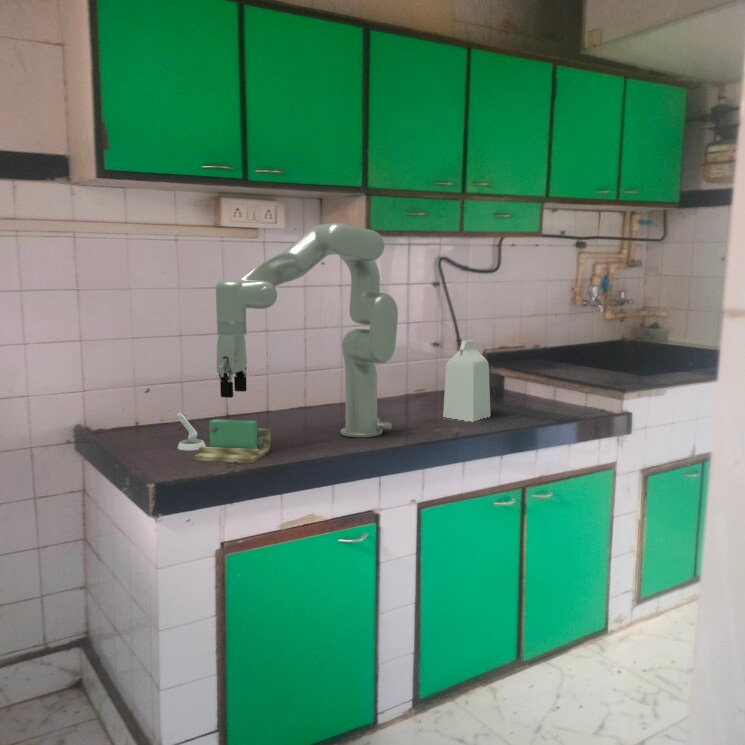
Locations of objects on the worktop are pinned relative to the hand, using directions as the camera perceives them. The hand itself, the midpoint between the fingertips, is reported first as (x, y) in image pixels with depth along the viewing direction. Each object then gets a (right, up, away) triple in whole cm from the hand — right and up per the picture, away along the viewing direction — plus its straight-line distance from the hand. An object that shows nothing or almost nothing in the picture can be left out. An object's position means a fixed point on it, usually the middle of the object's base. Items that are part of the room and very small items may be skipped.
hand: (234, 394), depth 190 cm
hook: (-14, -15, +11) cm, 24 cm away
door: (0, -15, +1) cm, 15 cm away
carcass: (0, -16, +1) cm, 16 cm away
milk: (+68, -10, +54) cm, 88 cm away
